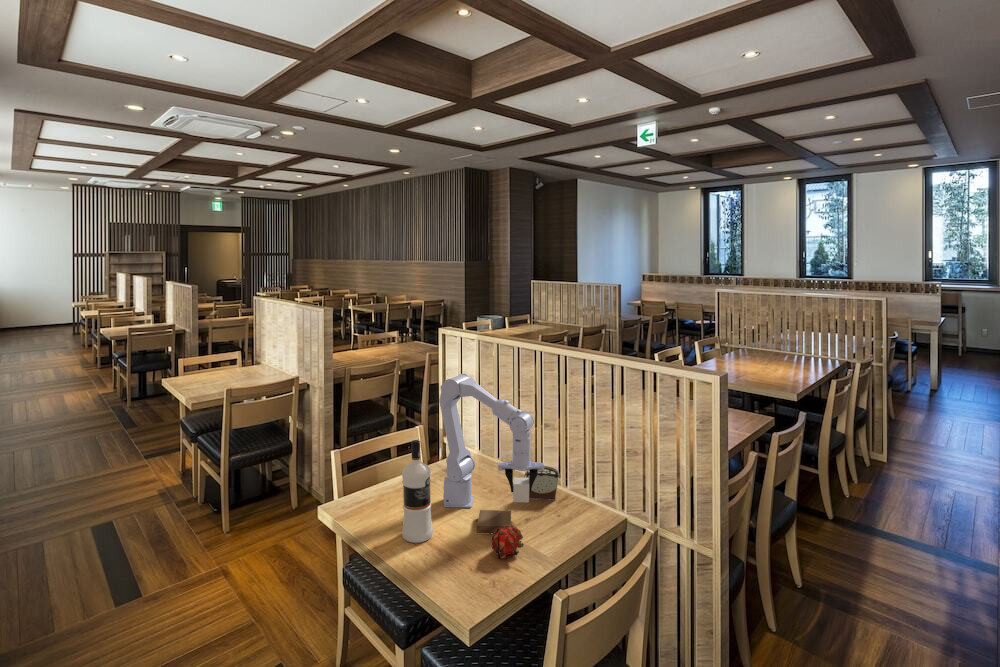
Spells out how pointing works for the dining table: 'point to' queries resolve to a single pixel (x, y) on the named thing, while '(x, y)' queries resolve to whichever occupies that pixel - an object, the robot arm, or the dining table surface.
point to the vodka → (416, 499)
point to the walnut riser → (493, 520)
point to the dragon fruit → (507, 541)
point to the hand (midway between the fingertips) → (520, 491)
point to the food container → (544, 484)
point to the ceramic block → (520, 489)
